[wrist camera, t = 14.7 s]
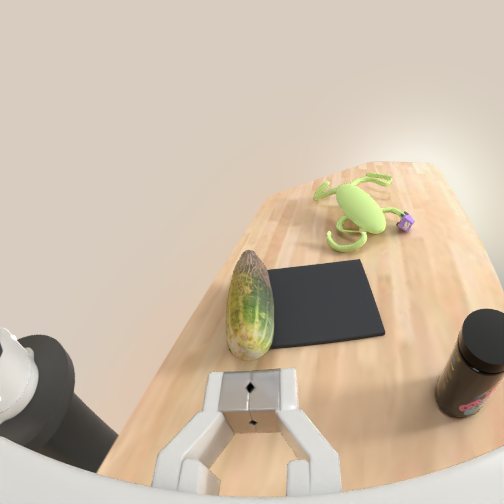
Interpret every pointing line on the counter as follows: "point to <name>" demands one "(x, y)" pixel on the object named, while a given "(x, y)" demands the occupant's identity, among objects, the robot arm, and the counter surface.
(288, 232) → the counter surface
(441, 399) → the supplement container
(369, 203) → the figurine
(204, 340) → the counter surface
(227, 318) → the vegetable
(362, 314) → the mat
